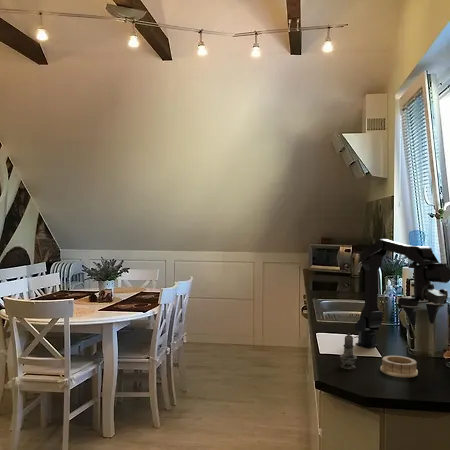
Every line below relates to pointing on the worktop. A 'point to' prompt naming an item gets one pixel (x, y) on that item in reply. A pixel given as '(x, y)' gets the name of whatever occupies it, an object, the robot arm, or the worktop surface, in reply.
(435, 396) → the worktop surface
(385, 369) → the beige round ring
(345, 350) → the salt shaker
